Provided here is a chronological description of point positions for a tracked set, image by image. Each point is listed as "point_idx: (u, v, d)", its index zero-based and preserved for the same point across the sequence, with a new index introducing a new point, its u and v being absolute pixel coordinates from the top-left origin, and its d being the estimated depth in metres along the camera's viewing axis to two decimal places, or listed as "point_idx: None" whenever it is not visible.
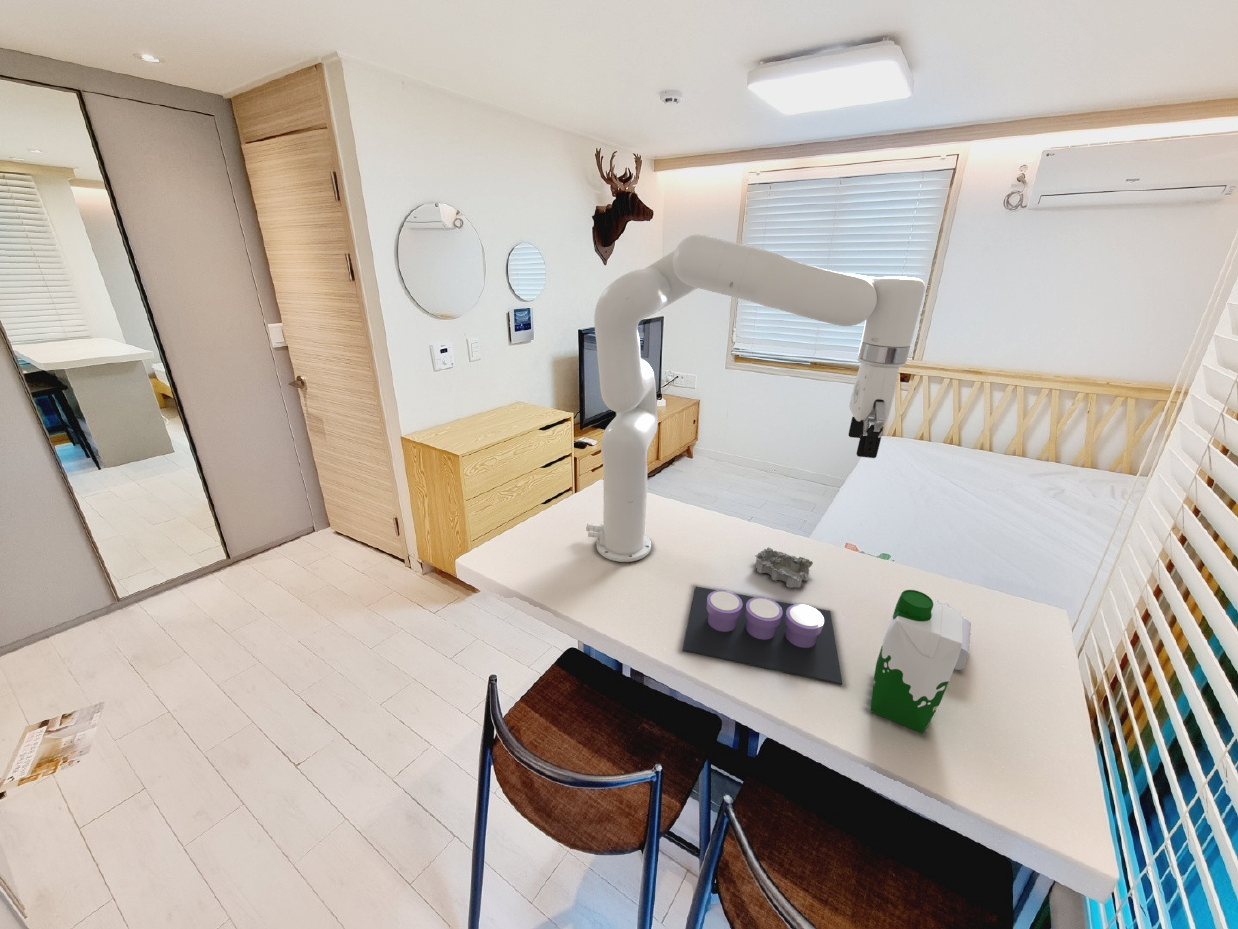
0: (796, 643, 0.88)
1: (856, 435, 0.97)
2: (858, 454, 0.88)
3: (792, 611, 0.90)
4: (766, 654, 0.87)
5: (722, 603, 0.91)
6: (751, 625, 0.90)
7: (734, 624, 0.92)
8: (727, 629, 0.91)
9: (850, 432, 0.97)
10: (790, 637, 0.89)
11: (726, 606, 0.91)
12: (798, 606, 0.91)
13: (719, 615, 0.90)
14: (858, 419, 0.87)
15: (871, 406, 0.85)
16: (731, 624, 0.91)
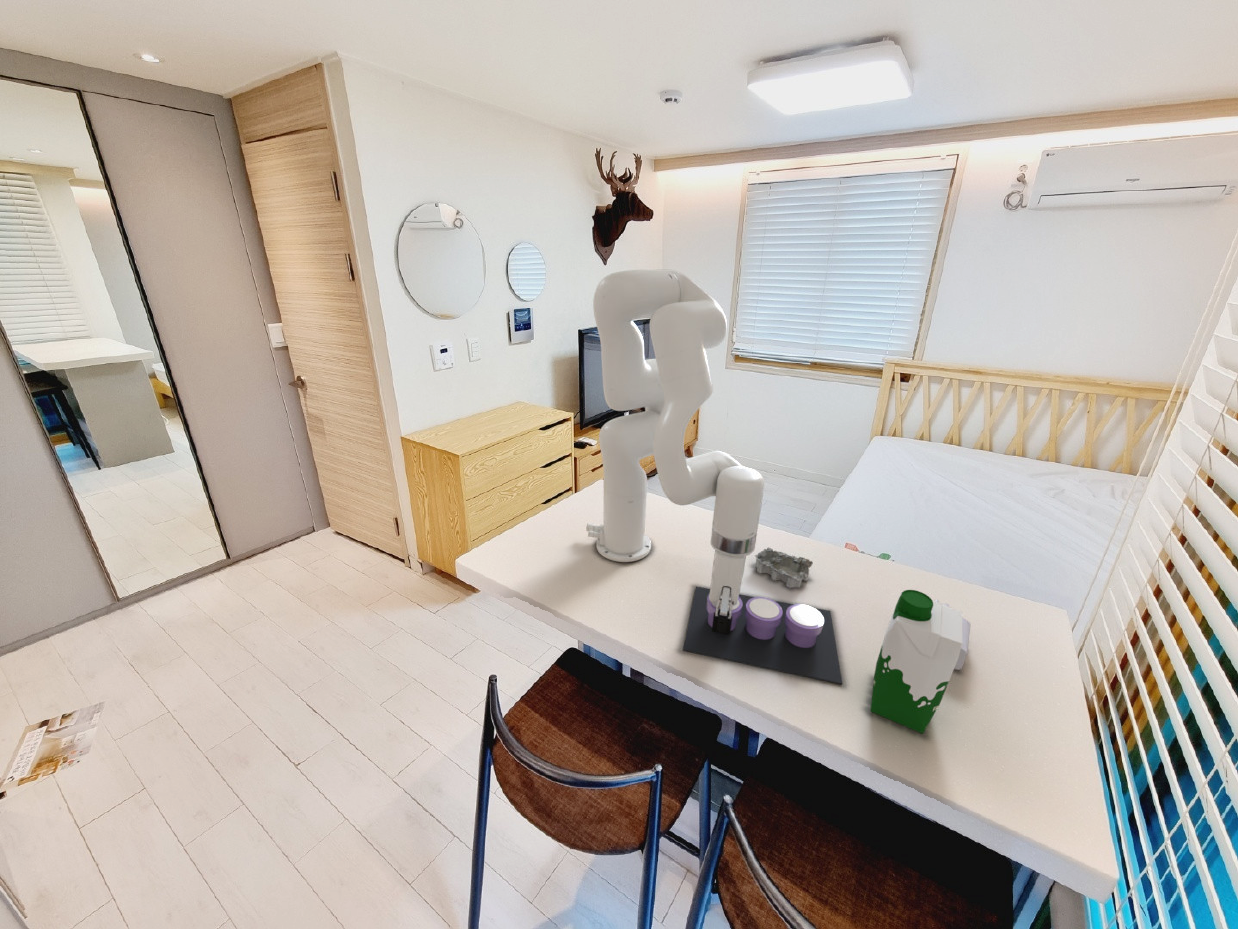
0: (796, 643, 0.88)
1: None
2: (713, 630, 0.90)
3: (792, 611, 0.90)
4: (766, 654, 0.87)
5: None
6: (751, 625, 0.90)
7: (734, 624, 0.92)
8: None
9: None
10: (790, 637, 0.89)
11: None
12: (798, 606, 0.91)
13: None
14: (710, 600, 0.87)
15: (719, 591, 0.85)
16: (731, 624, 0.91)
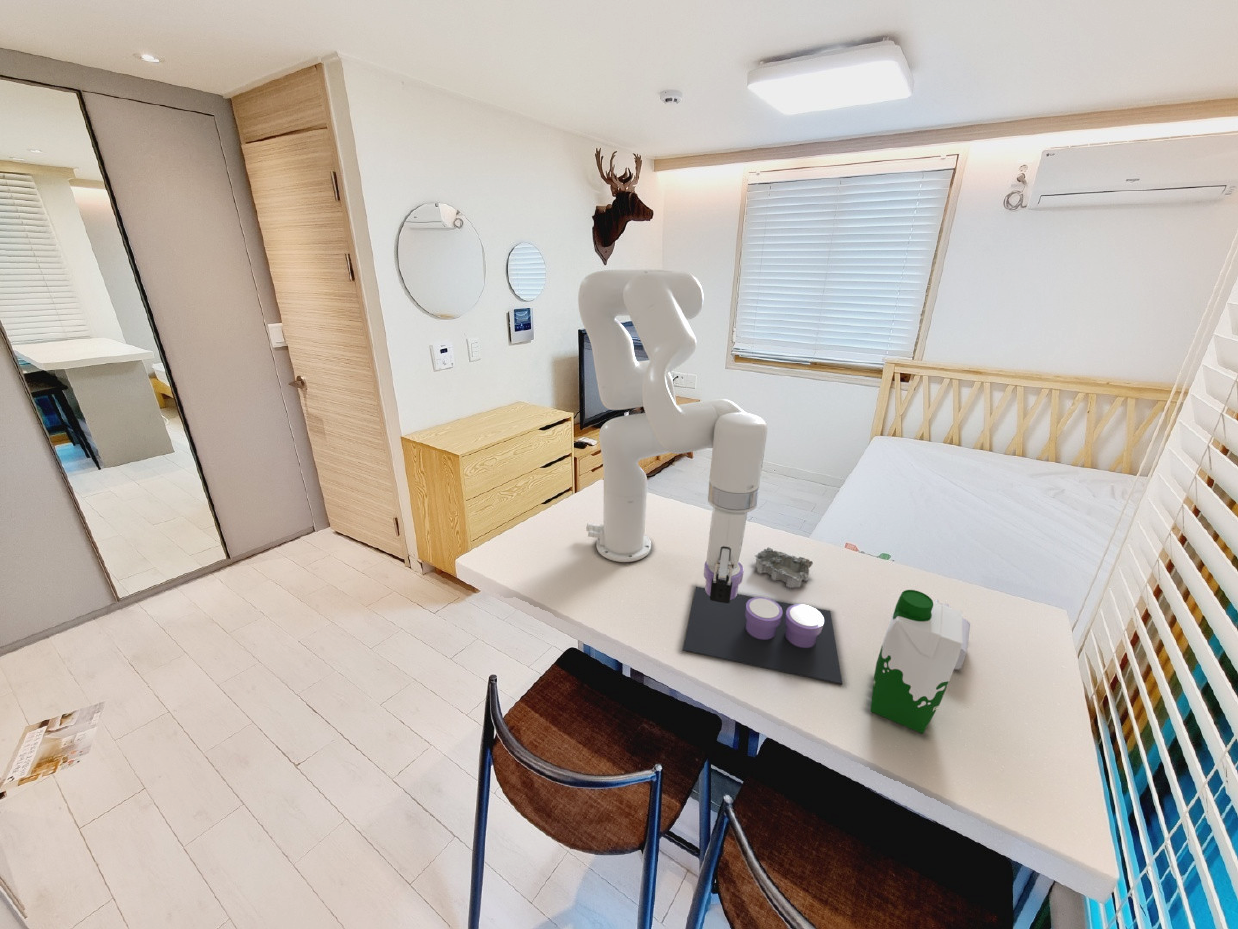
0: (796, 643, 0.88)
1: None
2: (711, 598, 0.81)
3: (792, 611, 0.90)
4: (766, 654, 0.87)
5: None
6: (751, 625, 0.90)
7: (734, 592, 0.83)
8: None
9: None
10: (790, 637, 0.89)
11: None
12: (798, 606, 0.91)
13: None
14: (707, 564, 0.78)
15: (718, 553, 0.76)
16: (731, 592, 0.82)
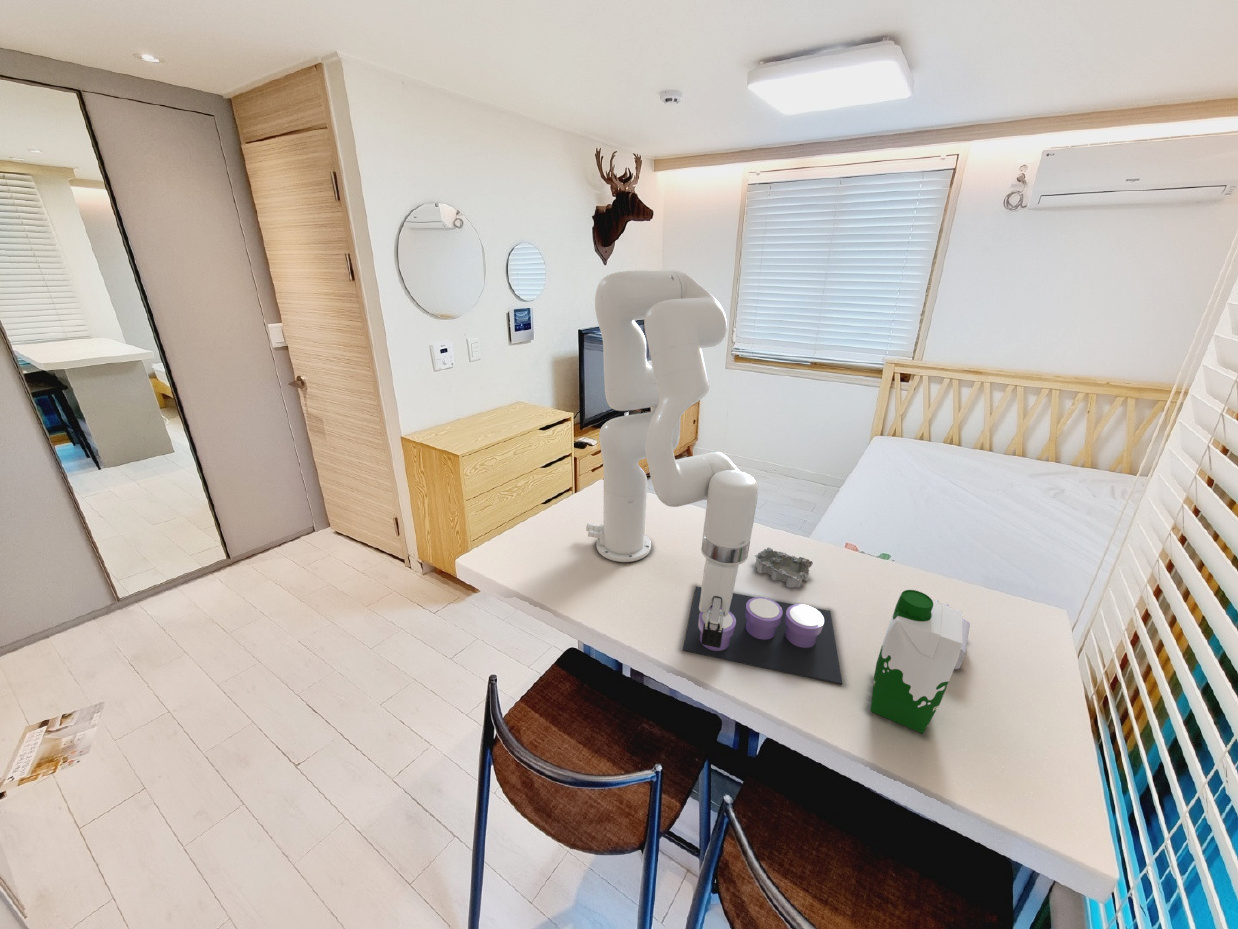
0: (796, 643, 0.88)
1: None
2: (702, 642, 0.85)
3: (792, 611, 0.90)
4: (766, 654, 0.87)
5: None
6: (751, 625, 0.90)
7: (727, 643, 0.87)
8: (719, 648, 0.87)
9: None
10: (790, 637, 0.89)
11: None
12: (798, 606, 0.91)
13: None
14: (700, 610, 0.83)
15: (710, 601, 0.81)
16: (724, 643, 0.87)
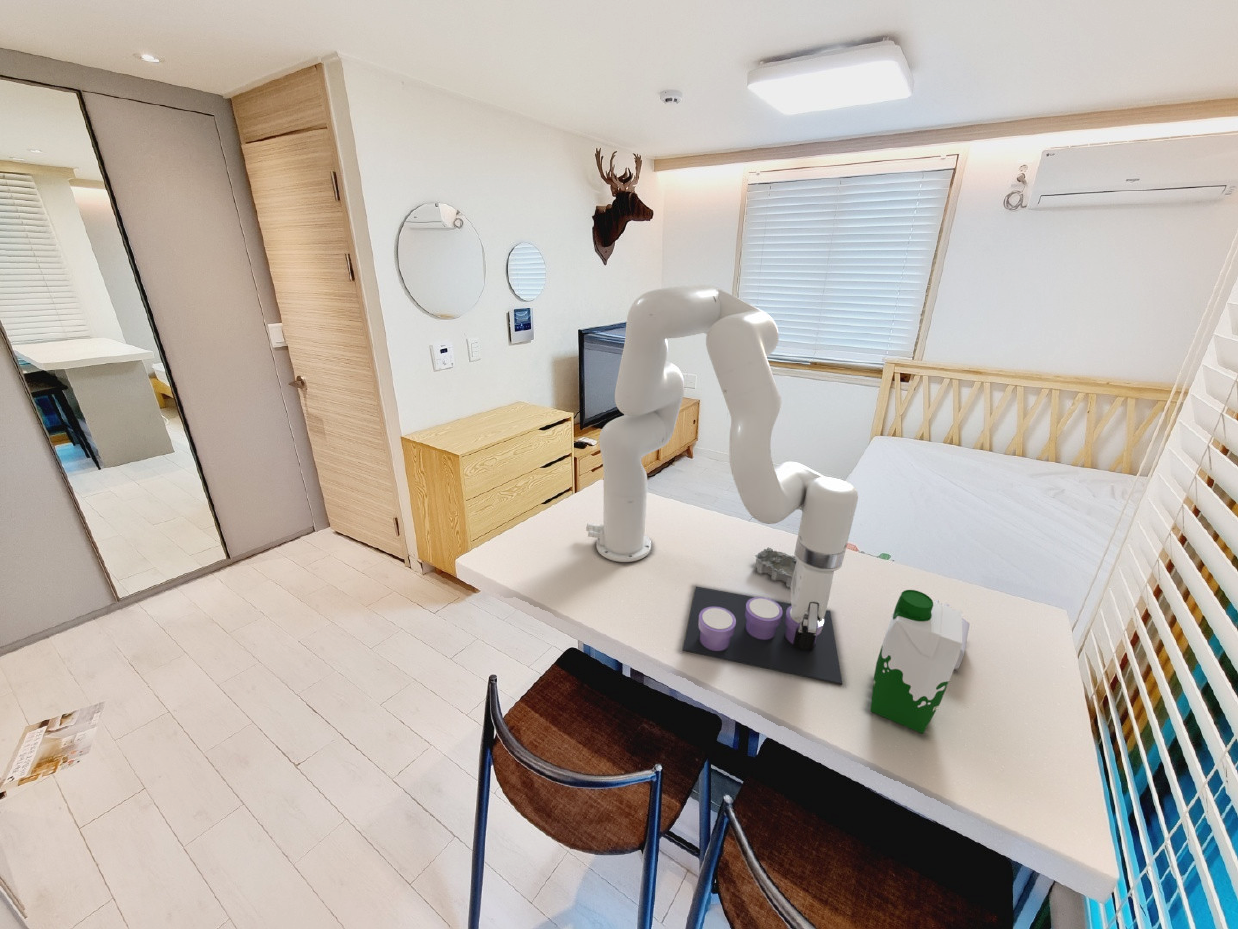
0: None
1: None
2: (794, 646, 0.87)
3: None
4: (766, 654, 0.87)
5: (715, 621, 0.87)
6: (751, 625, 0.90)
7: (727, 643, 0.87)
8: (719, 648, 0.87)
9: None
10: (790, 637, 0.89)
11: (719, 624, 0.86)
12: None
13: (711, 634, 0.85)
14: (794, 616, 0.84)
15: (806, 607, 0.82)
16: (724, 643, 0.87)
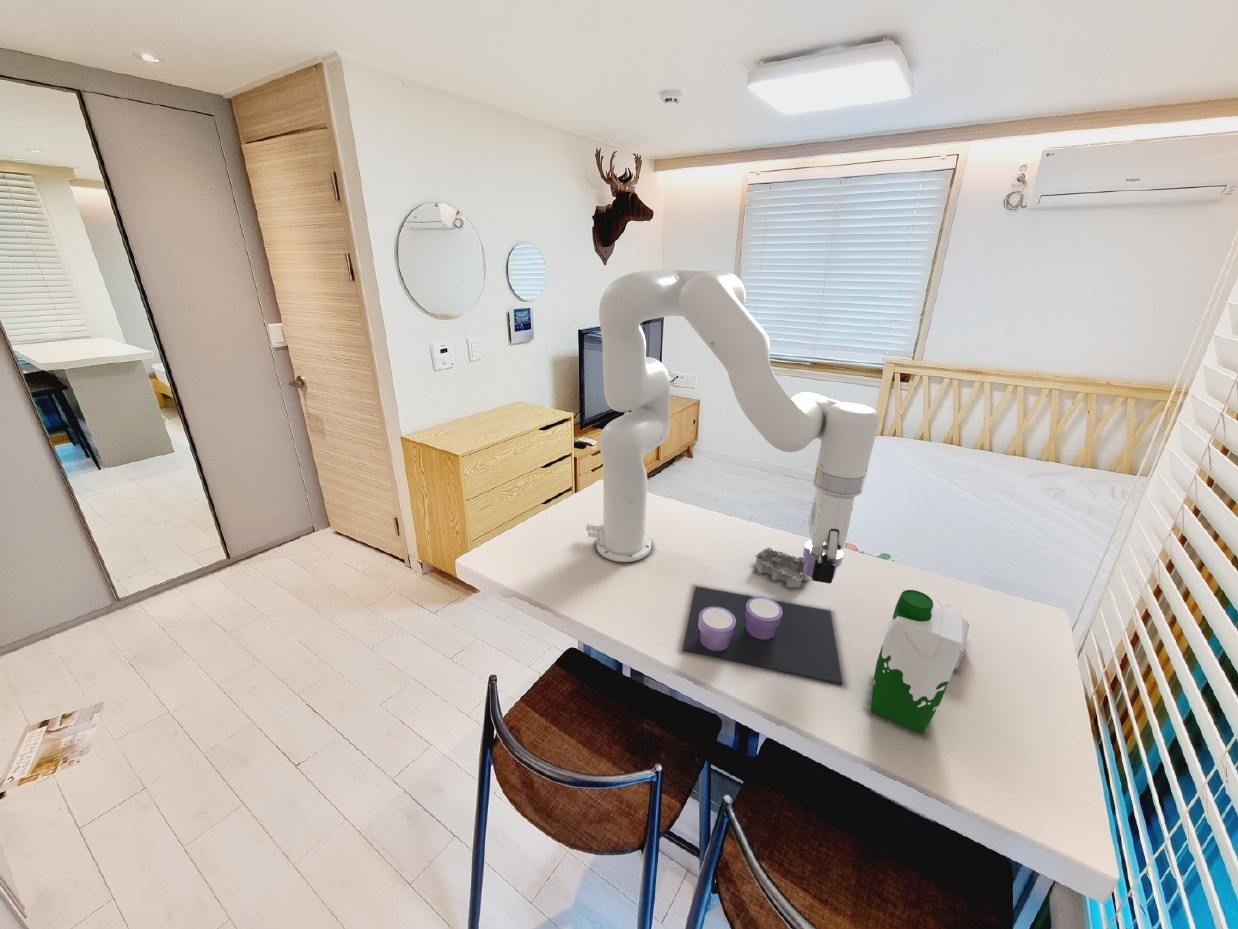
0: None
1: None
2: (813, 579, 0.86)
3: (811, 545, 0.89)
4: (766, 654, 0.87)
5: (715, 621, 0.87)
6: (751, 625, 0.90)
7: (727, 643, 0.87)
8: (719, 648, 0.87)
9: None
10: (809, 571, 0.88)
11: (719, 624, 0.86)
12: None
13: (711, 634, 0.85)
14: (814, 545, 0.83)
15: (826, 535, 0.81)
16: (724, 643, 0.87)
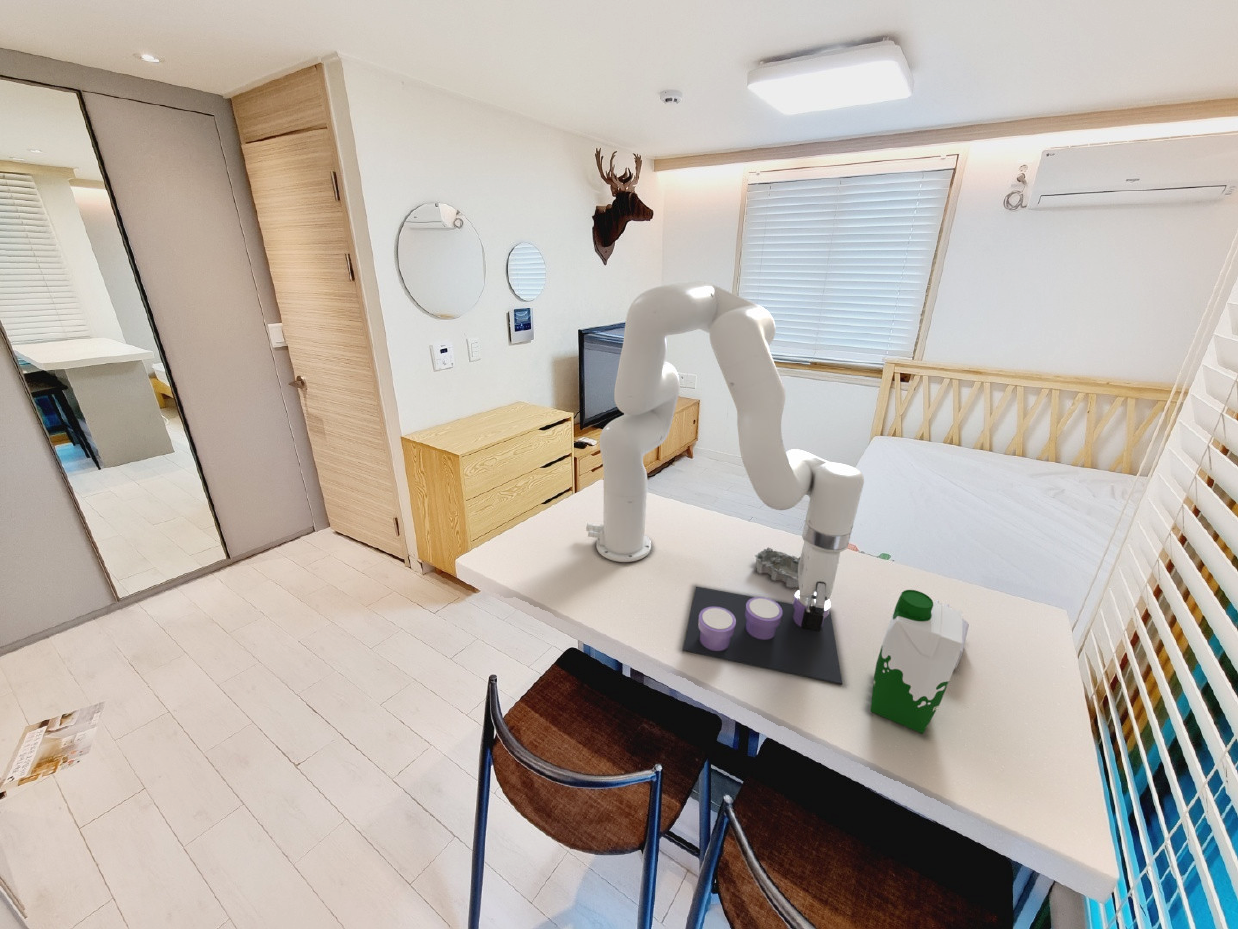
0: None
1: None
2: (802, 626, 0.89)
3: (800, 595, 0.94)
4: (766, 654, 0.87)
5: (715, 621, 0.87)
6: (751, 625, 0.90)
7: (727, 643, 0.87)
8: (719, 648, 0.87)
9: None
10: (798, 620, 0.93)
11: (719, 624, 0.86)
12: None
13: (711, 634, 0.85)
14: (802, 595, 0.88)
15: (813, 587, 0.86)
16: (724, 643, 0.87)
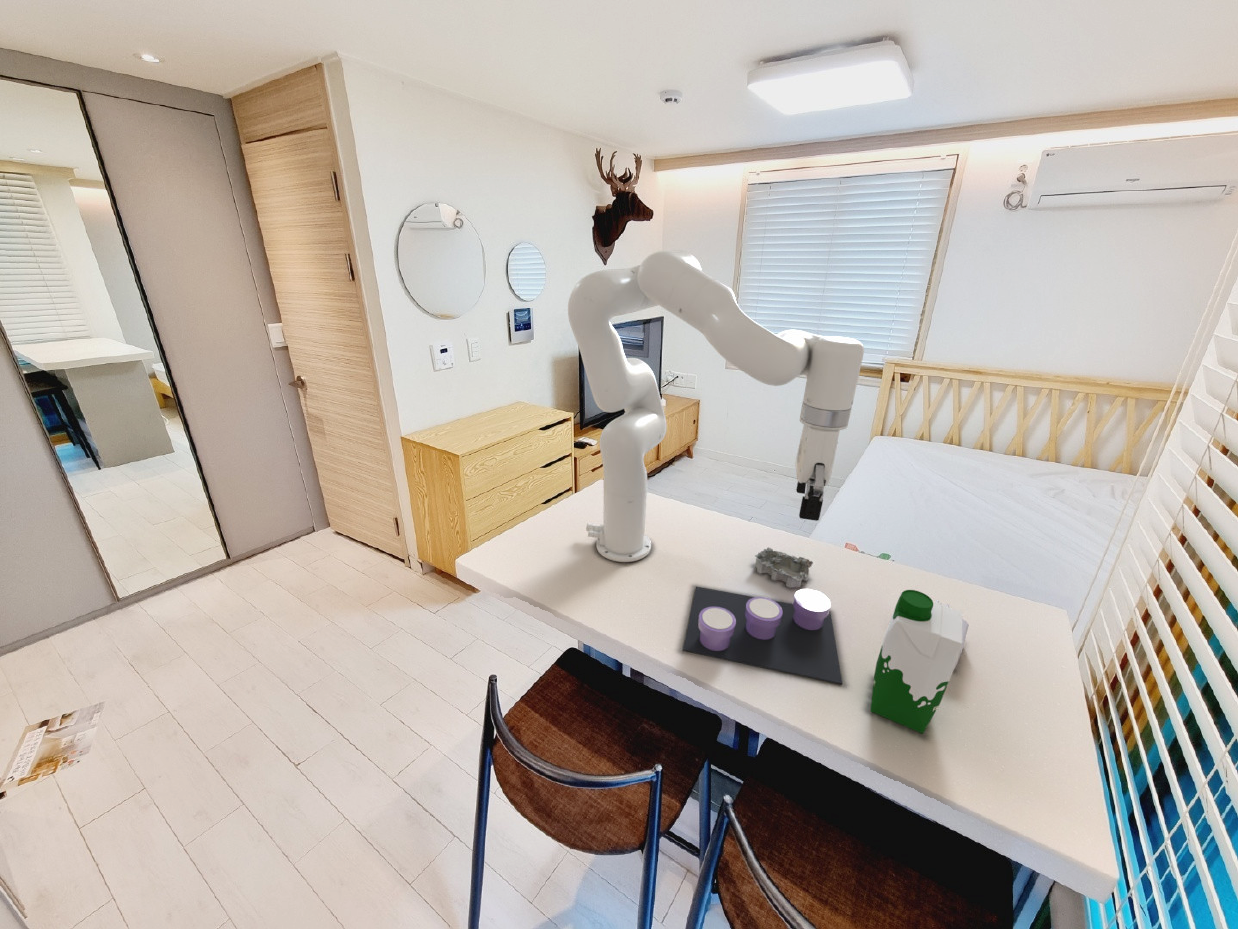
0: (804, 626, 0.92)
1: (804, 491, 0.94)
2: (800, 516, 0.85)
3: (800, 595, 0.94)
4: (766, 654, 0.87)
5: (715, 621, 0.87)
6: (751, 625, 0.90)
7: (727, 643, 0.87)
8: (719, 648, 0.87)
9: (797, 488, 0.94)
10: (798, 620, 0.93)
11: (719, 624, 0.86)
12: (805, 591, 0.95)
13: (711, 634, 0.85)
14: (799, 481, 0.84)
15: (811, 469, 0.82)
16: (724, 643, 0.87)
